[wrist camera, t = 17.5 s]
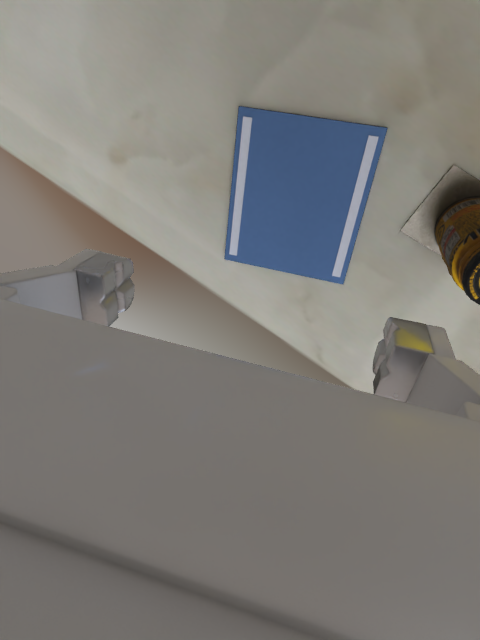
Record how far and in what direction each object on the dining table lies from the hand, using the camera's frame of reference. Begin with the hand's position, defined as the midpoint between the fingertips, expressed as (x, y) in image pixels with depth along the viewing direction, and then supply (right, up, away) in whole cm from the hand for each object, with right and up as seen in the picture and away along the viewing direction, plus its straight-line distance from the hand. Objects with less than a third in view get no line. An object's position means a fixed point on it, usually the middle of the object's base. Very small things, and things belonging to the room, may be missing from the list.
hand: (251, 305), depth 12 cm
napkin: (+5, +12, +29) cm, 32 cm away
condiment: (+21, +9, +26) cm, 35 cm away
